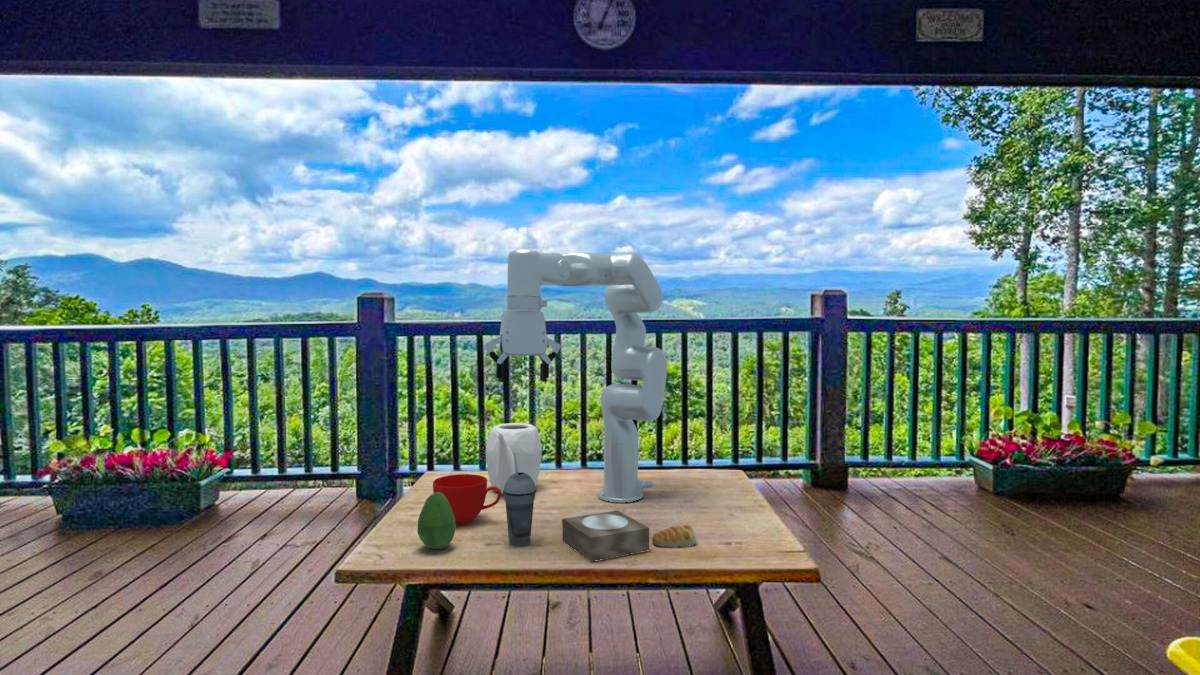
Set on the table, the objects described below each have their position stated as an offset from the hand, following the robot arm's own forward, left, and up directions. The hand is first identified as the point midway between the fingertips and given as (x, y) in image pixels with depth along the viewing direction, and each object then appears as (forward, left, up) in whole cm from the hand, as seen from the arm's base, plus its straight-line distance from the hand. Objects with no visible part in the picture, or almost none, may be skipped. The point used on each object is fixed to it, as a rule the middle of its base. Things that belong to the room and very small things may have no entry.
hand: (522, 381), depth 141 cm
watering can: (-11, -38, -36) cm, 53 cm away
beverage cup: (+2, +3, -36) cm, 36 cm away
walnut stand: (-14, +13, -35) cm, 40 cm away
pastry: (-29, +18, -36) cm, 50 cm away
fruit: (+19, -2, -36) cm, 40 cm away
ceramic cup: (+8, -17, -36) cm, 40 cm away
